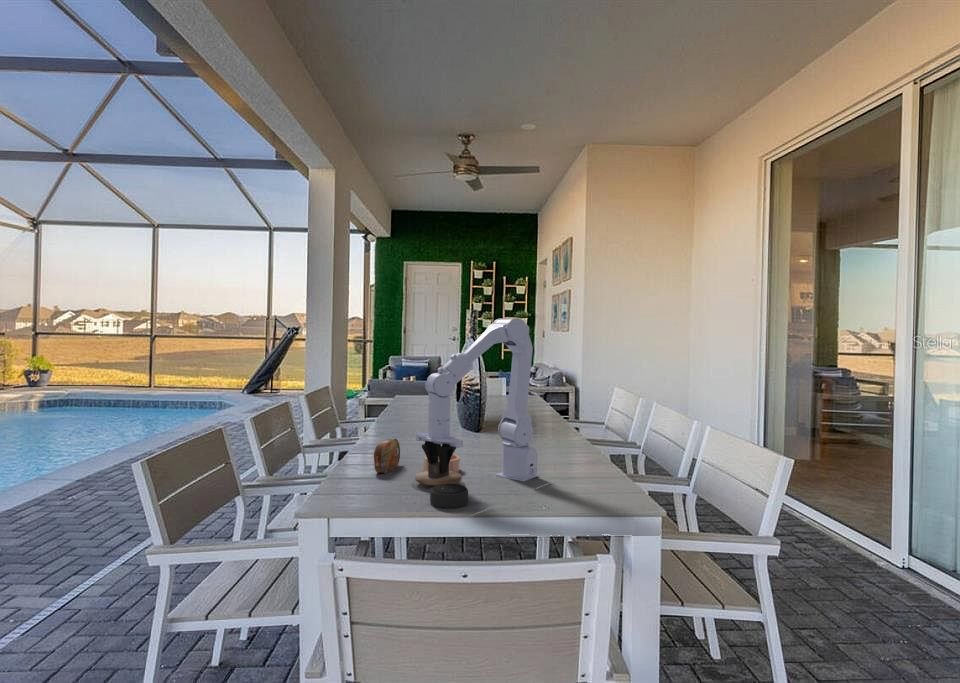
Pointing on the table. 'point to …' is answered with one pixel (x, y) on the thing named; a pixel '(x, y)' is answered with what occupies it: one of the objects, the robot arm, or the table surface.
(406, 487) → the table surface
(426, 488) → the coaster
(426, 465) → the bowl
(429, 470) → the lid
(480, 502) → the table surface
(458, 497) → the smart speaker
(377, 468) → the tin
